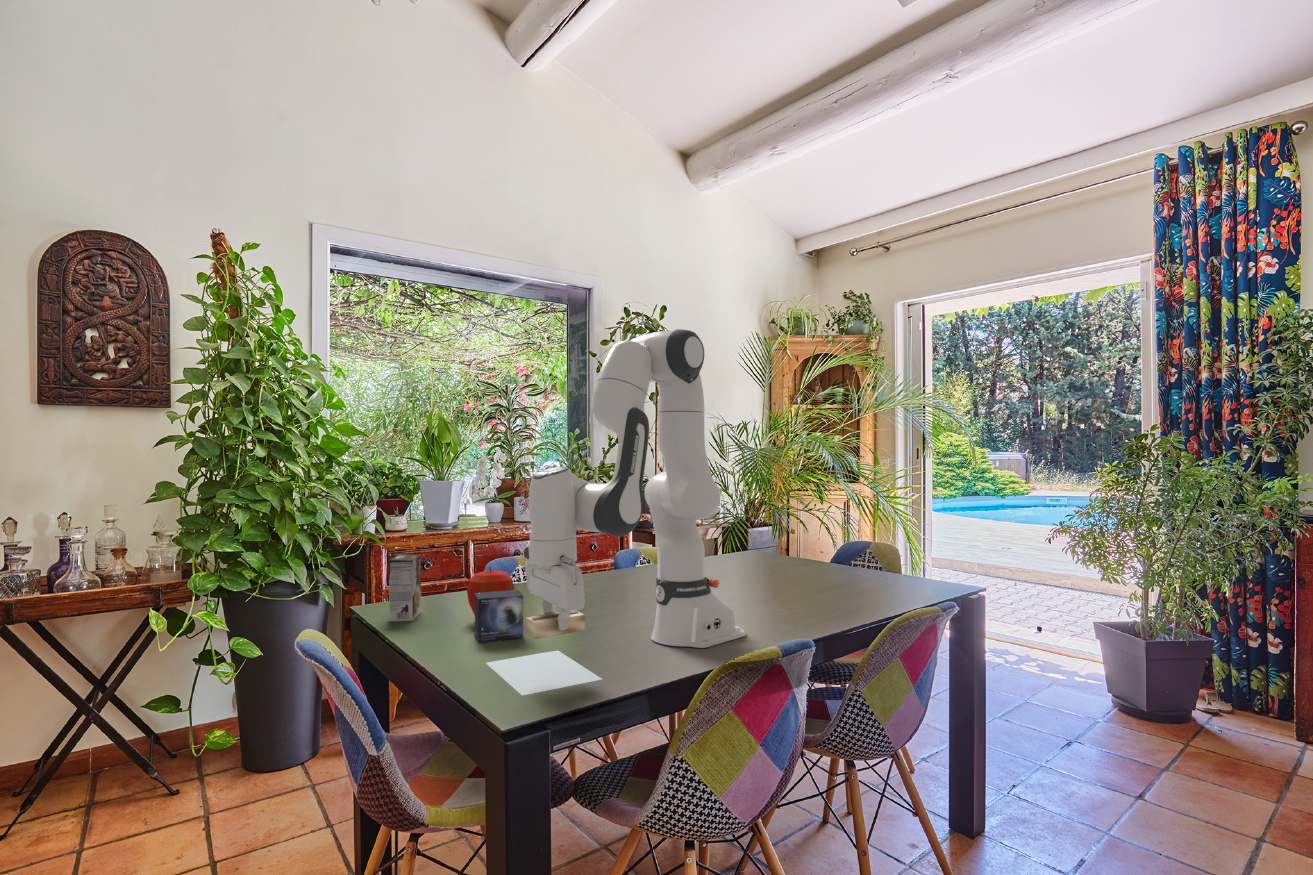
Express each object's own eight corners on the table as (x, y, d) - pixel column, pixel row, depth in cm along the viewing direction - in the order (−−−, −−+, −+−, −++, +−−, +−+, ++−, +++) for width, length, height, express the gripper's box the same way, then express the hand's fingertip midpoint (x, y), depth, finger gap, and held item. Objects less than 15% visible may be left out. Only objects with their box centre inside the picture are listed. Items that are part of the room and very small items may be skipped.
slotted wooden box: (574, 624, 134) (574, 608, 134) (585, 630, 129) (584, 613, 129) (526, 633, 129) (525, 616, 129) (535, 639, 124) (535, 622, 124)
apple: (515, 625, 171) (514, 569, 171) (465, 629, 168) (465, 572, 168) (513, 614, 183) (513, 562, 183) (468, 617, 180) (467, 564, 180)
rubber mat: (557, 653, 147) (557, 650, 147) (602, 682, 128) (602, 679, 128) (485, 665, 139) (485, 662, 139) (522, 698, 120) (522, 695, 120)
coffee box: (397, 613, 185) (397, 554, 185) (421, 612, 185) (421, 553, 186) (388, 621, 176) (387, 559, 176) (413, 621, 176) (413, 559, 177)
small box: (478, 644, 155) (478, 598, 155) (474, 637, 161) (473, 592, 161) (524, 638, 159) (524, 593, 159) (518, 631, 165) (518, 588, 165)
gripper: (592, 558, 122) (594, 634, 122) (549, 545, 139) (550, 612, 139) (559, 562, 119) (561, 640, 118) (519, 548, 136) (521, 617, 136)
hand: (555, 625), depth 129 cm, fingers closed on slotted wooden box, 5 cm apart
